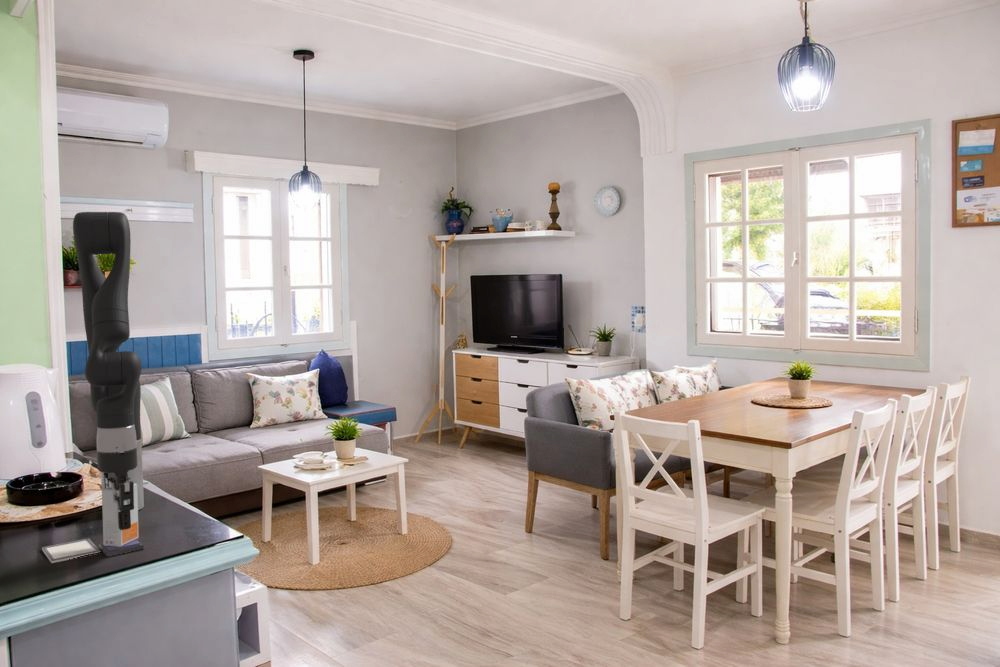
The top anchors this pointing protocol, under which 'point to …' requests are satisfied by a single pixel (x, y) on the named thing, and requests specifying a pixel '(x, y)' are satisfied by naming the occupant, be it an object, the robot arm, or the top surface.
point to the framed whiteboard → (70, 550)
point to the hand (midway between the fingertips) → (120, 524)
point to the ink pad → (121, 548)
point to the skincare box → (110, 520)
